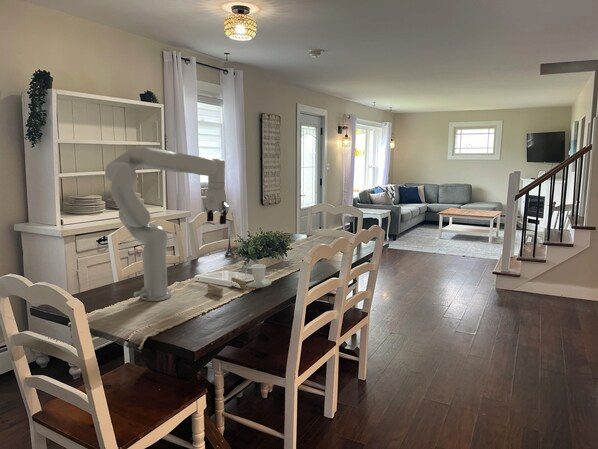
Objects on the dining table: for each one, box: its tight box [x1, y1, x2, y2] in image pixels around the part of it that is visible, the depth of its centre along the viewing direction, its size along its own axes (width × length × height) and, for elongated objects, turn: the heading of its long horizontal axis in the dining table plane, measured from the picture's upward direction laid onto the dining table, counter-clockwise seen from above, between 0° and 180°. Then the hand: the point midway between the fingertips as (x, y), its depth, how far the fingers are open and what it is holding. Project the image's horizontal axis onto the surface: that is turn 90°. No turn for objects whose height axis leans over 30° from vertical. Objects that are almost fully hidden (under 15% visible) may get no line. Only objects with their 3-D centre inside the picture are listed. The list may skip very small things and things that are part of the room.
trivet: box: [246, 277, 272, 289], centre depth 216 cm, size 14×14×1 cm
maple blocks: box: [207, 276, 247, 298], centre depth 204 cm, size 15×9×4 cm, turn 138°
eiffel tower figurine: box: [224, 235, 240, 261], centre depth 266 cm, size 15×10×13 cm
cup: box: [244, 263, 267, 284], centre depth 215 cm, size 7×10×8 cm
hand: (216, 222), depth 211 cm, fingers open, 9 cm apart
